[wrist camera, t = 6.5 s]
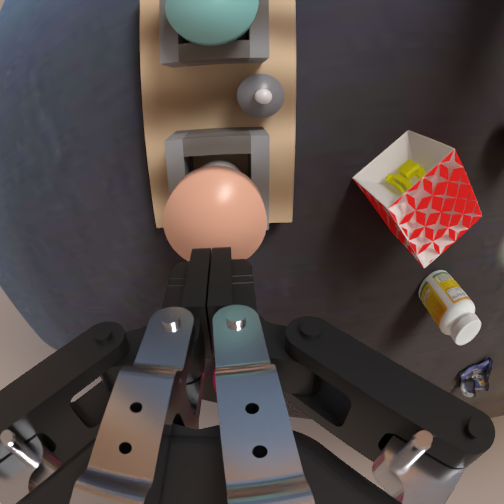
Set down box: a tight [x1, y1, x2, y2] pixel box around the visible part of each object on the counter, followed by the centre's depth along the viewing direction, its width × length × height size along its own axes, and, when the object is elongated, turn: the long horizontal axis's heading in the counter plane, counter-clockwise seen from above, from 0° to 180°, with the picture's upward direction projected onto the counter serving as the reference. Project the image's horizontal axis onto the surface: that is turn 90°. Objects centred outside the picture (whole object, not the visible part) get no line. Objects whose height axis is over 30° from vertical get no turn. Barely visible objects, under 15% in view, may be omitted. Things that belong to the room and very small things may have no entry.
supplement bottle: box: [419, 270, 481, 345], centre depth 32 cm, size 5×5×10 cm
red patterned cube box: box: [352, 130, 482, 268], centre depth 26 cm, size 8×8×8 cm
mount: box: [140, 0, 296, 230], centre depth 21 cm, size 22×12×8 cm, turn 1°
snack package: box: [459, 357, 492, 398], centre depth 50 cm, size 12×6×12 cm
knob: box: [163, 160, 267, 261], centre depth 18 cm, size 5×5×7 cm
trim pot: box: [236, 74, 284, 118], centre depth 19 cm, size 3×3×5 cm
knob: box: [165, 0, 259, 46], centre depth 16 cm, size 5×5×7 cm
